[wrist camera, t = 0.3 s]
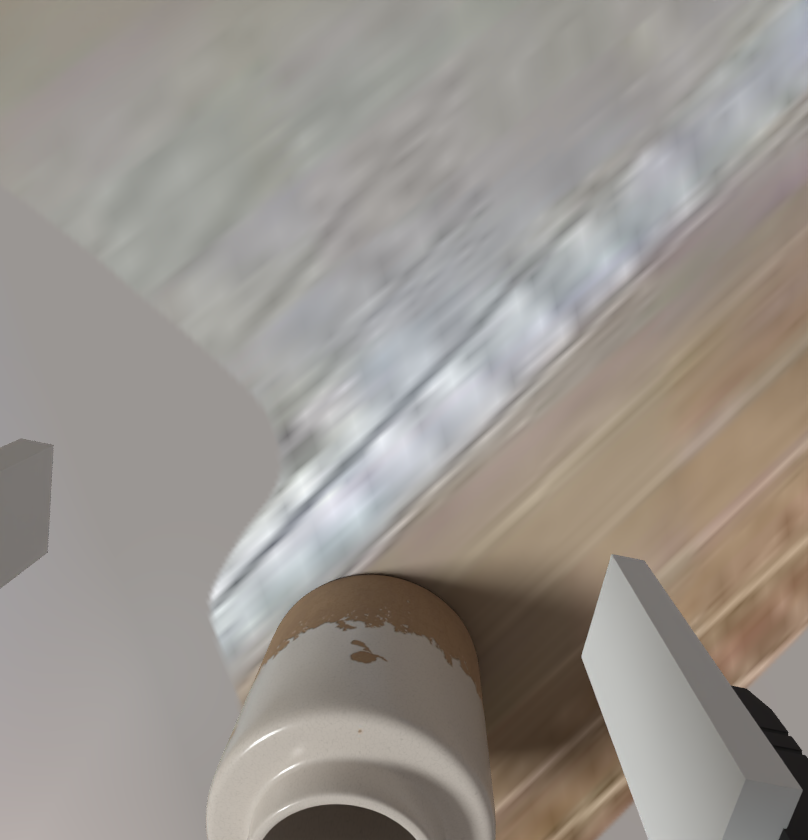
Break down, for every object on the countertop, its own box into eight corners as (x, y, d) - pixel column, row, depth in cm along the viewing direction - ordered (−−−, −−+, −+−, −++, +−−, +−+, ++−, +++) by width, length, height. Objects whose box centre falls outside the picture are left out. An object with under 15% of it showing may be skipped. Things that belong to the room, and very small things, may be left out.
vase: (457, 771, 49) (469, 1023, 33) (259, 737, 49) (173, 971, 33) (497, 591, 45) (532, 775, 29) (282, 555, 45) (199, 718, 29)
